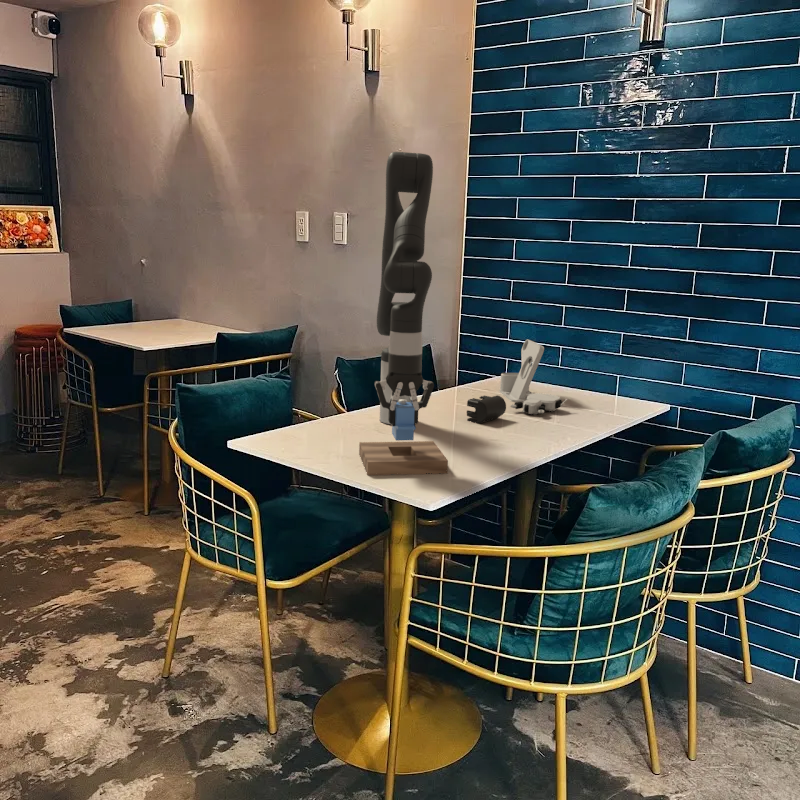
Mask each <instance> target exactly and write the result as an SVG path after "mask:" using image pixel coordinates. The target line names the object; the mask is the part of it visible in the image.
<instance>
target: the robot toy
mask: <svg viewBox="0 0 800 800" xmlns="http://www.w3.org/2000/svg"><path fill="white" fill-rule="evenodd" d="M567 401H568V398H566V399H565V400H564V401H563V400H562V398H561V397H560V396H558V395H555V394H549V393H543V392H535V393H534V392H531V394H530V395H529V396H527V397H526V401H524V402H514V404H513V403H512V404H510V406H509V407H510V408H512V409H515V410H519V409H522V413H525V414H527V413H528V414H529V415H532V414H533V416H534V415H538V414H541V415H543V414H545V412H546V411H547V412H550V411H551V412H554V411H556V410H557V409H559V408H562V406H563V404H565V403H566V402H567Z"/></svg>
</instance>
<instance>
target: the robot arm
mask: <svg viewBox="0 0 800 800" xmlns="http://www.w3.org/2000/svg"><path fill="white" fill-rule="evenodd" d="M433 174H434V164H433V160H432V157H431V156H430V155H429V154H426V153H417V152H416V153H415V152H406V151H405V152H404V151H393V152H390V154H389V155H388V158H387V161H386V169H385V215H384V216H385V218H384V228H383V229H384V230H383V235H382V238H383V239H382V251H381V274H380V275H381V276H380V277H381V278H380V280H381V281H380V289H379V297H378V305H377V313H376V328H377V332H378V333H379V335H381V336H386V337H389V339H388V346H387V347H386V348H383V349H382V351H381V352H380V353H381V355H380V360H381V361H380V381H379V380H375V381H374V387H375V390H376V393H377V396H378V400H379V422H381V423H383V424H388V425H391V427H392V426H395V412H396V411H395V407H396V404H397V402H399V400H400V399H404V400H407V402H410V403H411V404H412V405H413V407H414V408H415V411H414V426H415V427H416V424H418V422H419V411H420V409H422V408H423V409H424V408H427V406H428V404H429V401H430V398H431V396H432V392H433V390H434V388H435V384H434V382H433V381H431V380H425V379H424V378H423V375H422V369H423V368H422V367H423V365H422V363H423V362H422V360H423V335H422V334H423V333H422V332H423V331H422V330H423V314H424V313H423V311H424V306H425V301H426V298H427V295H428V292H429V289H430V287H431V285H432V284H431V283H432V280H433V271H432V268H431V266H430V264H429V263H427V262H425V261H419V260H421V259H422V258H423V256H424V255H425V239H426V238H425V237H426V233H425V232H426V221H427V216H428V212H429V205H430V200H431V193H432V184H433V177H434V175H433ZM399 193H406V194H407V193H408V194H409V193H410V194H416V195H415V197H414V198H413V200H412V202H410V204H409V205H408V206H407V207H406V208H405V209H404V208H403V206H402V205H403V204H402V203H401V199H400V195H399ZM395 294H414V297H413V299H412V300H410V301H408V302H405V301H403V302H400V301H393V300H394V299H393V298H394V296H395ZM421 386H422V389H423V393H422V395H421V398H420V400H419V401H418V396H417V391H418V390H419V389H420V387H421Z"/></svg>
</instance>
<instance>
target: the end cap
mask: <svg viewBox="0 0 800 800" xmlns="http://www.w3.org/2000/svg"><path fill="white" fill-rule="evenodd" d="M466 407H470V408H473V409H474V411H473V410H466V416H467V417H469V418H466V419H467V420H466V421H467V422H470V421H471V423H475V422H476V424H482V423H485V422H488V421H489V422H490V421H492V420H496V419H498V418H500V417H502V416H503V415H504V414H505V413H506V410H507V403H506V401H505V399H504V398H503V397H502V396H500V395H493V396H489V395H480V396H479V398H476V397H474V398H469V399H468V400H467V403H466Z"/></svg>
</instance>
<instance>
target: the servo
mask: <svg viewBox="0 0 800 800" xmlns="http://www.w3.org/2000/svg"><path fill="white" fill-rule="evenodd" d="M395 411H396V412H395V426H392V425H391V435H392V436H393V438H394V439H395V442H399V441H414V435H415V434H414V433H415V431H416V428H417V427H416V425H415V426H414V411H415V408H414V407H413V405H412V404H411V403H410V402H407V400H404V399H400V400H399V402H397V404H396V407H395Z"/></svg>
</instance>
